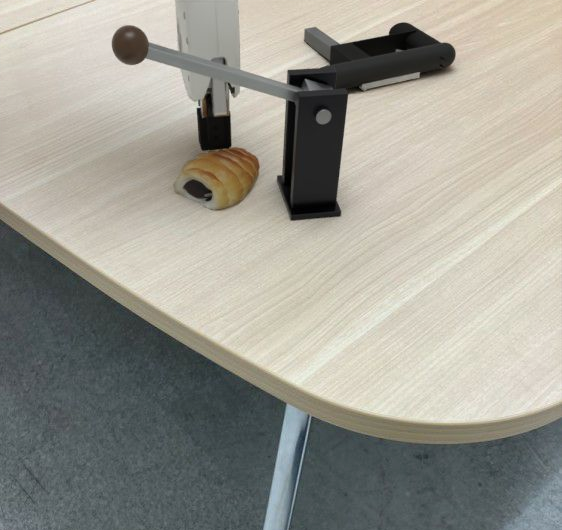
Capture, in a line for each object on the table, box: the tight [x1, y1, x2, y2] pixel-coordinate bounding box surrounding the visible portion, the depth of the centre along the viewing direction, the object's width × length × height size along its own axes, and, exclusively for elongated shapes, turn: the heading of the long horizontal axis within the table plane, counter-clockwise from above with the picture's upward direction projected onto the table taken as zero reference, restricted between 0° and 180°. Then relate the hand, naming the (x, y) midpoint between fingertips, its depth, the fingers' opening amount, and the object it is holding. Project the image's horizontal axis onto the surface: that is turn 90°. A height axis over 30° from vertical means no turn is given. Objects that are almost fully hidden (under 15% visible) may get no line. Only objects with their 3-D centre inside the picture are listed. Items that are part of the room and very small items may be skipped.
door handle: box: [303, 21, 456, 92], centre depth 100 cm, size 3×20×16 cm
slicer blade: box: [111, 24, 333, 104], centre depth 67 cm, size 20×3×3 cm, turn 102°
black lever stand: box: [276, 67, 349, 221], centre depth 74 cm, size 5×7×13 cm
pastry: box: [173, 146, 261, 211], centre depth 79 cm, size 9×7×4 cm
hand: (215, 145), depth 82 cm, fingers closed
